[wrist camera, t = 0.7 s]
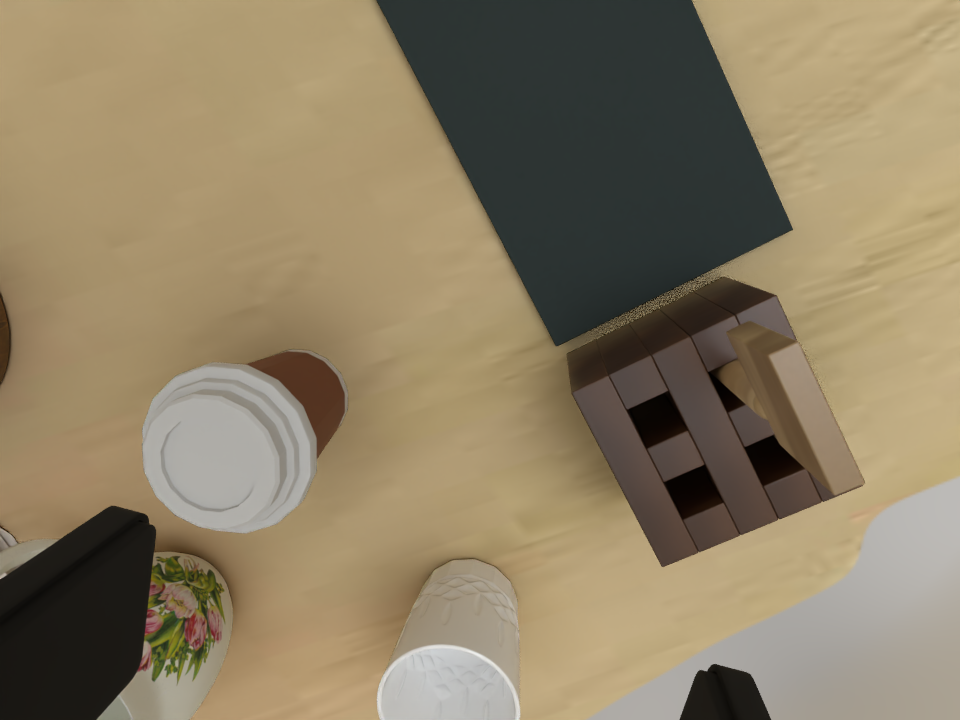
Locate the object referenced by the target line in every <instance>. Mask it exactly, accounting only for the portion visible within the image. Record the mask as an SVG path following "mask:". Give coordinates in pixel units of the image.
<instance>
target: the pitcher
mask: <svg viewBox="0 0 960 720" xmlns="http://www.w3.org/2000/svg"><path fill="white" fill-rule="evenodd" d="M57 541H58V539H38V540H30V541H26V542H22V543H19V544H16V545H14V546H12V547H9V548H7V549H5V550H3V551H2V552H0V576H1V575H2V574H4V573H5V572H7V571H8V570H10V569H11V568H13V567H15V566H17V565H20V564H22V563H25V562H27V561H28V560H30V559H31V558H33V557H34V556H36V555H37V554H39V553H40V552H42V551H43V550H45V549H46V548H48V547H49V546H51V545H52V544H54V543H55V542H57ZM232 625H233V607H232V602H231V598H230V594H229V589H228V587H227V584H226V582H225V580H224V578H223V577H222V575H221V574H220V573H219V572H218V570H217V569H215V568H214V567H213V566H212V565H211V564H210V563H208V562H207V561H205V560H203V559H201V558H199V557H197V556H194V555H190V554H185V553H178V552H155V553H154V556H153V565H152V574H151V583H150V592H149V601H148V610H147V619H146V628H145V637H144V646H143V655H142V660H141V663H140V666H139V668H138V671H137V673H136V674H135V676H134V678H133V679H132V680H131V682H130V683H129V684H128V685H127V686H126V687H125V688H124V690H123V691H122V692H121V693H120V694H119V695H118V696H117V697H116V698H115V700H114V701H113V702H112V703H111V704H110V705H109V706H108V707H107V709H106V710H105V711H104V712H103V713H102V714H101V715H100V716H99V718H98V719H97V720H190V718H191V717H192V716H193V715H194V713H195V712H196V711H197V709H198V708H199V707H200V705H201V704H202V702H203V701H204V699H205V697H206V696H207V694H208V692H209V690H210V689H211V687H212V685H213V684H214V682H215V680H216V678H217V676H218V674H219V672H220V669H221V667H222V664H223V662H224V659H225V656H226V653H227V650H228V646H229V642H230V637H231V632H232Z"/></svg>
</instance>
